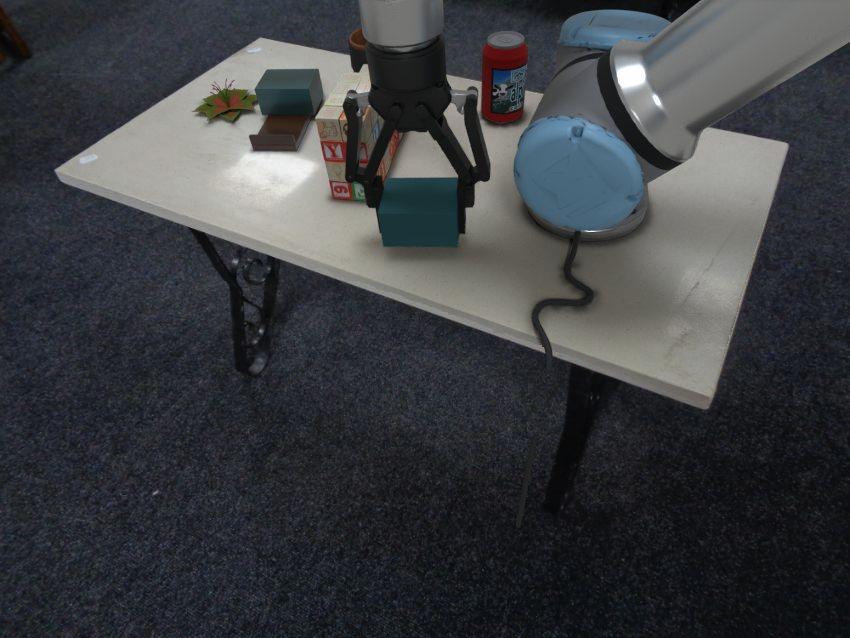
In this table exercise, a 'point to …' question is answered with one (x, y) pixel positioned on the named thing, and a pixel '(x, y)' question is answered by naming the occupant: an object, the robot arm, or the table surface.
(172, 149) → the table surface
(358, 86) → the stack of blocks
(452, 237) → the block
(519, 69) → the beverage can
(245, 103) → the lily flower
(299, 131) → the teal lidded box
